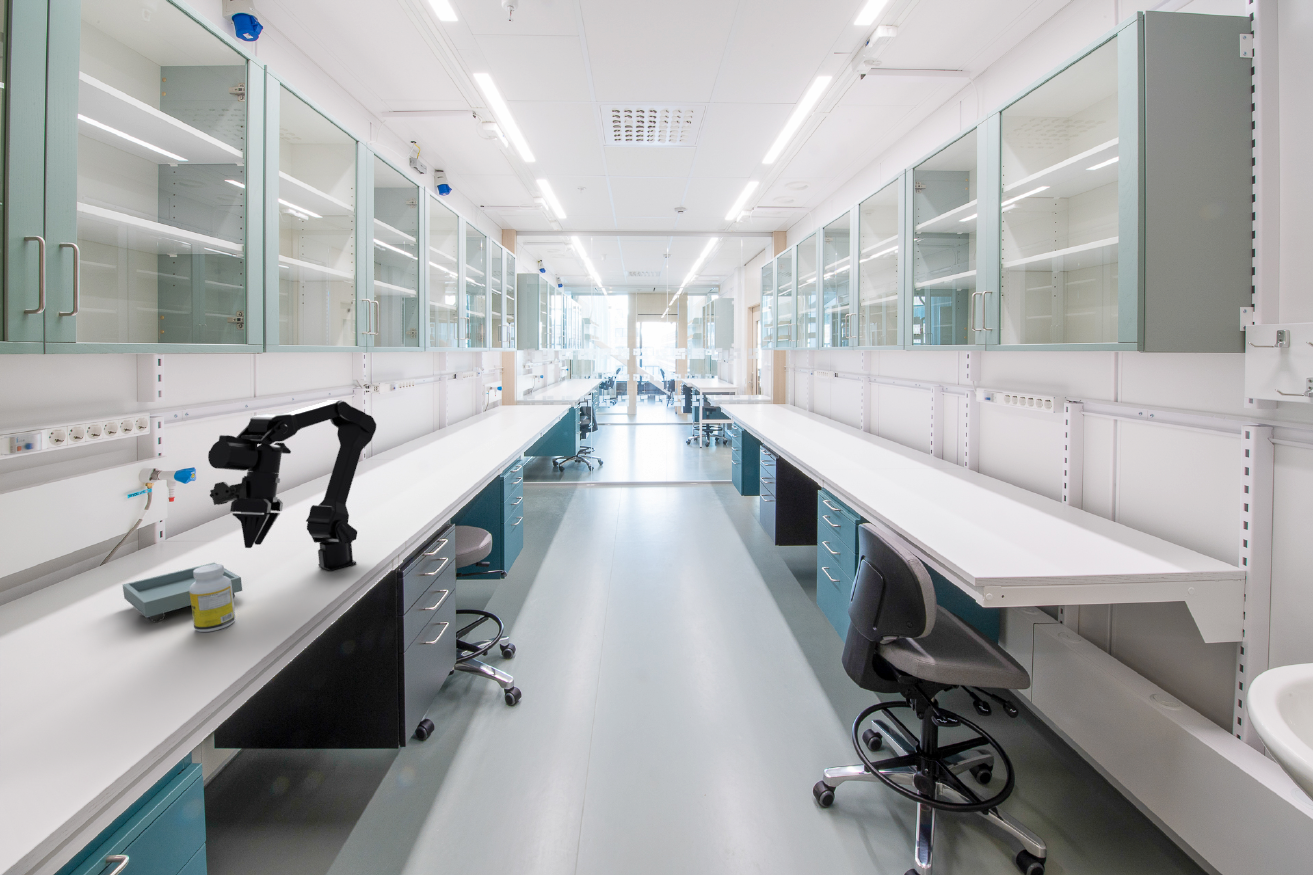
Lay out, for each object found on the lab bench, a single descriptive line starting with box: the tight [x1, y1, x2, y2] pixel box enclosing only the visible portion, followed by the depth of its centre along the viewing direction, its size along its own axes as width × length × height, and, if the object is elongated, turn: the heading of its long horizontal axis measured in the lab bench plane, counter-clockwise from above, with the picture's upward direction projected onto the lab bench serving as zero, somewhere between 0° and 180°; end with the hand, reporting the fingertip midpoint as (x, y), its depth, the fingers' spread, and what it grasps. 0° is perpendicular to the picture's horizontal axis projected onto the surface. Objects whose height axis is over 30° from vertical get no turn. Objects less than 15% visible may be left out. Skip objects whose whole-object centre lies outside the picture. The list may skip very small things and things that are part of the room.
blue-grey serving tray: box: [121, 562, 243, 623], centre depth 124 cm, size 16×16×5 cm
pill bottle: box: [189, 563, 236, 633], centre depth 113 cm, size 6×6×12 cm
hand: (253, 546), depth 125 cm, fingers open, 9 cm apart
